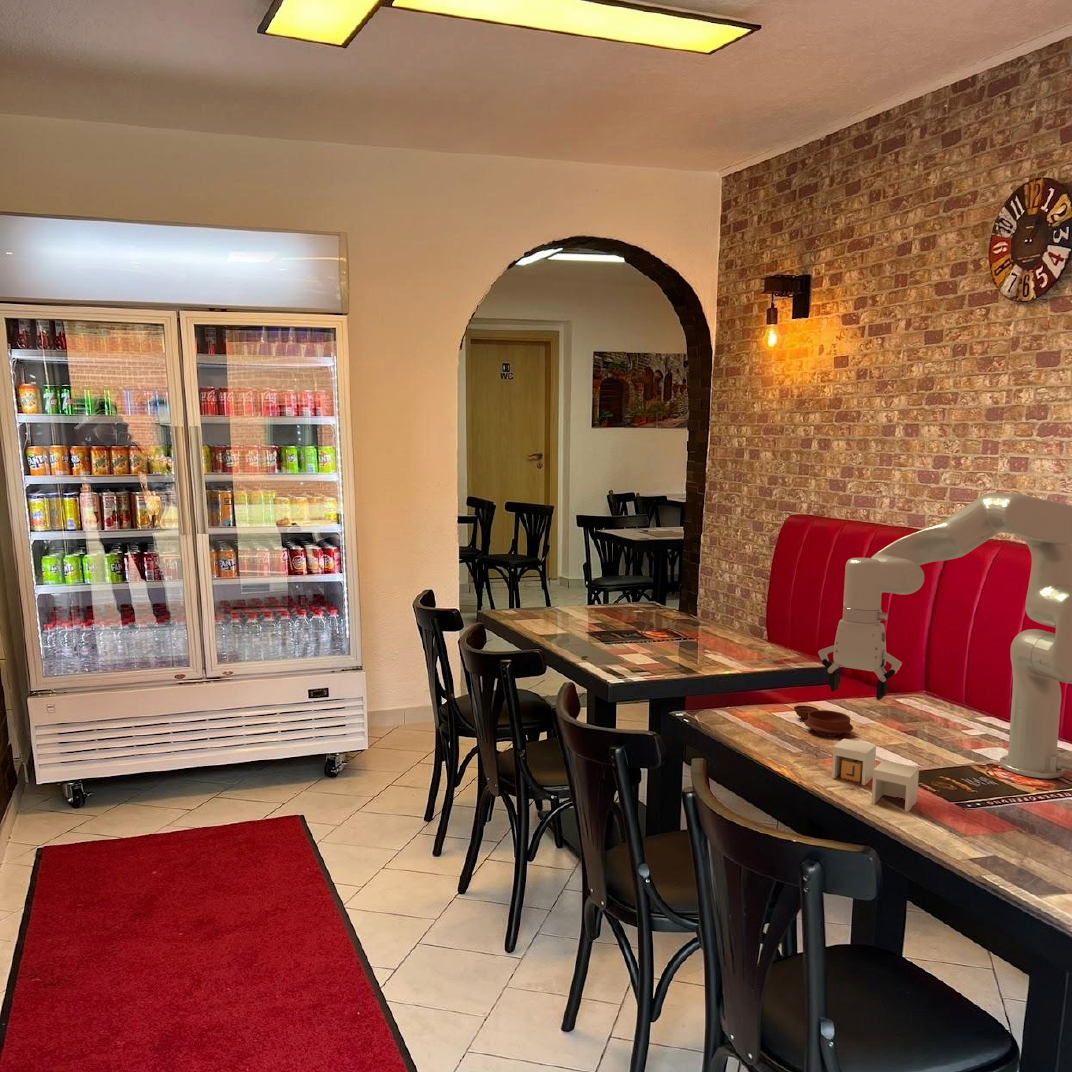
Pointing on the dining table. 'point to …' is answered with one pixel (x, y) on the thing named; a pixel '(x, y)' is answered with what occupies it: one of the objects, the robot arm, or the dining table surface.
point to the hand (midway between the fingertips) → (856, 694)
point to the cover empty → (895, 782)
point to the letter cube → (852, 769)
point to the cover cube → (854, 757)
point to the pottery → (824, 720)
